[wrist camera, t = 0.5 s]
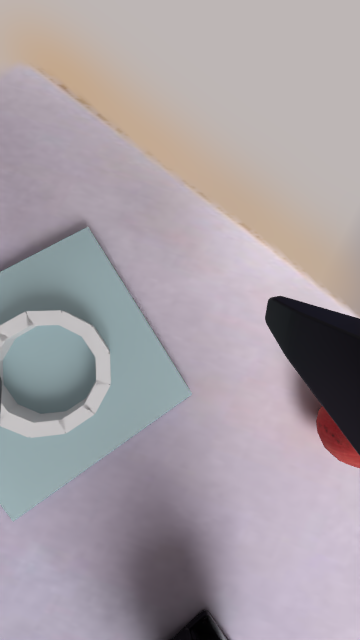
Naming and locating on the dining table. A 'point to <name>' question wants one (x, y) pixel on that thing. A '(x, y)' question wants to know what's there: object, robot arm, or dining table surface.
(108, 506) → the dining table surface
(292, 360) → the robot arm
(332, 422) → the onion
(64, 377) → the board
